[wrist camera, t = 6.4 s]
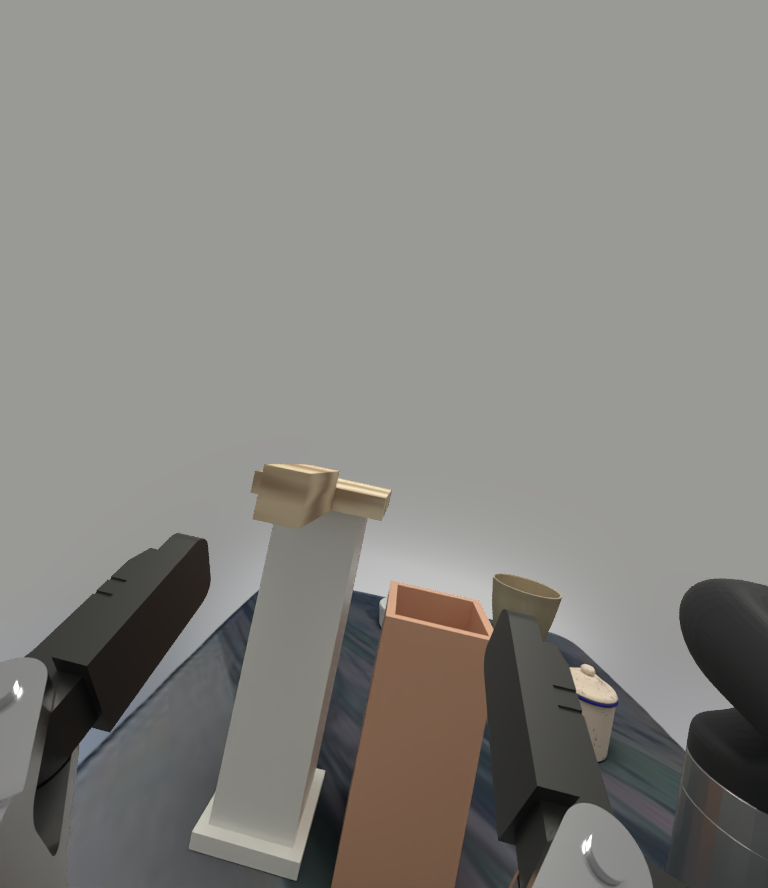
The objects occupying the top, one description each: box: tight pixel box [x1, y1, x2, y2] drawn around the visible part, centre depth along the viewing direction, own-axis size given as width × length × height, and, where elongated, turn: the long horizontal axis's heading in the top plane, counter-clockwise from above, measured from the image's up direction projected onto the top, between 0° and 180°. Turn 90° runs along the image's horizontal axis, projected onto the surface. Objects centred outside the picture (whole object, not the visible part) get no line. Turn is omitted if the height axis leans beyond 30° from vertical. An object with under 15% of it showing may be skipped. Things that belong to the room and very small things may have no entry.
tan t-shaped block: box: [251, 464, 392, 529], centre depth 35 cm, size 22×12×4 cm, turn 176°
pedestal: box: [188, 510, 367, 881], centre depth 39 cm, size 10×10×32 cm
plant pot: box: [492, 573, 562, 641], centre depth 86 cm, size 15×15×16 cm
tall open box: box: [331, 581, 494, 888], centre depth 37 cm, size 10×10×24 cm
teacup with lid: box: [570, 664, 618, 762], centre depth 60 cm, size 12×9×12 cm
